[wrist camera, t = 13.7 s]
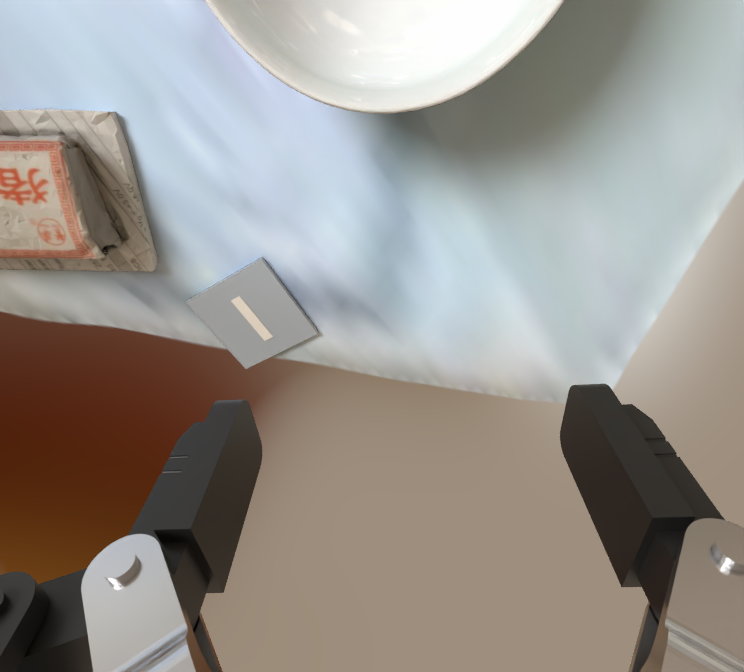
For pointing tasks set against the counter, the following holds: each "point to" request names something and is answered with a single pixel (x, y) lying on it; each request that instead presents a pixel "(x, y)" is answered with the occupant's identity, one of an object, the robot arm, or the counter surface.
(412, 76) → the cereal bowl
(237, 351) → the tile
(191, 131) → the counter surface
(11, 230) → the packaged product
